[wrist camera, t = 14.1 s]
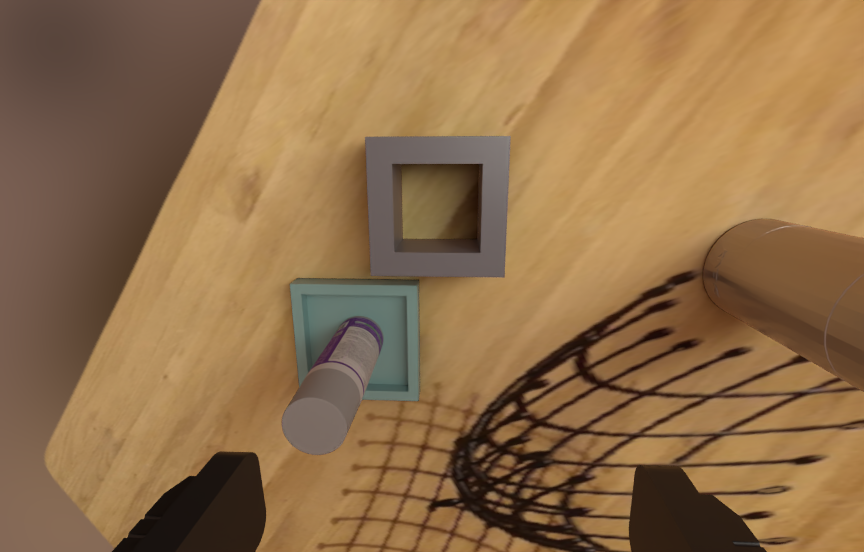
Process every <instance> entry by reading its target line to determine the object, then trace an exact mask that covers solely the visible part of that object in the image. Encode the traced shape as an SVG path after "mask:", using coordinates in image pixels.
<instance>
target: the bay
mask: <svg viewBox="0 0 864 552" xmlns="http://www.w3.org/2000/svg"><path fill="white" fill-rule="evenodd" d="M365 144H366V169H367V193H368V218H369V243H370V267H371V276H429V277H504V276H505V253H506V229H507V206H508V183H509V159H510V136H439V137H365ZM401 164H479V185H478V224H477V239H403V224H402V175H401Z"/></svg>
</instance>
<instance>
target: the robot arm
mask: <svg viewBox="0 0 864 552" xmlns="http://www.w3.org/2000/svg"><path fill="white" fill-rule="evenodd" d="M703 280H704V285H705V289H706V291H707V293H708V296H709V297H710V298H711V300H712V301H713V302H714V303H715V304H716V305H717V306H718V307H720V308H721V309H722V310H724V311H726V312H728V313H729V314H731V315H733V316H734V317H736V318H738V319H739V320H741V321H743V322H745V323H746V324H748V325H749V326H751V327H753V328H755V329H756V330H758V331H760V332H761V333H763V334H765V335H767V336H768V337H770V338H772V339H773V340H775V341H777V342H779V343H780V344H782V345H784V346H785V347H787V348H789V349H791V350H792V351H794V352H796V353H797V354H799V355H801V356H803V357H804V358H806V359H808V360H809V361H811V362H813V363H815V364H816V365H818V366H820V367H822V368H823V369H825V370H827V371H828V372H830V373H832V374H834V375H835V376H837V377H839V378H840V379H842V380H844V381H846V382H847V383H849V384H851V385H852V386H854V387H856V388H858V389H860V390H861V391H863V392H864V238H860V237H856V236H851V235H846V234H841V233H836V232H831V231H827V230H822V229H817V228H812V227H808V226H803V225H798V224H793V223H788V222H783V221H778V220H774V219H757V220H751V221H747V222H745V223H742V224H740V225H737V226H736V227H734V228H732V229H731V230H729V231H727V232H726V233H725V234H724V235H723V236H722V237H721V238H719V239H718V241H717V242H716V243H715V245H714V246H713V247H712V248H711V250H710V252H709V254H708V256H707V258H706V262H705V265H704V273H703ZM265 522H266V507H265V500H264V493H263V487H262V480H261V473H260V466H259V460H258V457H257V455H256V454H255V453H253V452H218V453H216V454H215V455H214V456H213V457H212V458H211V459H210V460H209V462H208V463H207V464H206V465H205V466H204V467H203V469H202V470H201V471H200V472H199V473H198V474H197V476H189V477H187V478H186V479H184V480H183V481H182V482H180V483H179V484H177V485H176V486H174V487H173V488H171V489H170V490H169V491H167V492H166V493H164V494H163V495H162V496H161V498H160V499H159V500H158V501H157V502H156V503H155V504H154V505H153V507H152V508H151V509H150V510H149V511H148V512H147V513H146V514H145V518H144V519H141V520H140V521H139V522H138V523H137V524H136V525H135V527H134V528H133V529H132V530H131V531H130V532H129V535H128V537H127V538H124V539H123V540H122V541H121V542H120V543H119V544H118V545H117V547H116V548H115V549H114V550H113V551H112V552H255V551H256V549H257V547H258V545H259V543H260V541H261V538H262V535H263V532H264V528H265ZM629 539H630V546H631V551H632V552H766V550H765V549H764V548H763V547H760V544H759V541H758V540H757V538H756V537H755V536H754V534H753V533H752V532H751V531H750V529H749V528H748V527H747V525H746V524H745V523H744V521H743V520H742V519H741V517H740V516H739V515H737V514H736V513H735V512H733V511H732V510H731V509H730V508H728V507H727V506H726V505H725V504H723V503H722V502H721V501H719V500H718V499H717V498H716V497H714V496H713V495H700V494H699V492H698V491H697V489H696V488H695V487H694V485H693V484H692V482H691V481H690V479H689V478H688V476H687V475H686V473H685V472H684V471H683V470H682V469H681V468H680V467H679V466H661V465H638V466H637V468H636V471H635V476H634V485H633V494H632V503H631V512H630V521H629Z"/></svg>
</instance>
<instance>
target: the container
mask: <svg viewBox="0 0 864 552" xmlns="http://www.w3.org/2000/svg"><path fill="white" fill-rule="evenodd" d="M383 341H384V336H383V332H382V330H381V328H380V326H379V325H378V324H377V323H376V322H375V321H374V320H372V319H370V318H368V317H364V316H354V317H351V318H348V319H347V320H345V321H344V322H343V323H342V324H341V326H340V327H339V328H338V330H337V331H336V333H335V334H334V336H333V337H332V339H331V340H330V342H329V343H328V345H327V346H326V348H325V349H324V350H323V352H322V353H321V355H320V356H319V358H318V359H317V361H316V362H315V364H314V365H313V367H312V368H311V370H310V371H309V372H308V374H307V376H306V377H305V379H304V381H303V382H302V384H301V386H300V387H299V389H298V390H297V392H296V394H295V395H294V397H293V399H292V400H291V402H290V404H289V405H288V407H287V408H286V410H285V412H284V414H283V417H282V429H283V432H284V435H285V437H286V438H287V440H288V441H289V442H290V443H291V444H292V445H293V446H294V447H295V448H297V449H298V450H300V451H302V452H305V453H308V454H312V455H323V454H327V453H330V452H332V451H334V450H336V449H337V448H338V447H339V446H340V445H341V444H342V443H343V441H344V439H345V437H346V435H347V433H348V430H349V428H350V426H351V423H352V421H353V419H354V417H355V414H356V412H357V410H358V407H359V405H360V403H361V401H362V398H363V396H364V393H365V390H366V388H367V385H368V383H369V380H370V377H371V375H372V372H373V369H374V367H375V364H376V362H377V359H378V356H379V354H380V351H381V349H382V346H383Z"/></svg>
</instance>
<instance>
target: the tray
mask: <svg viewBox="0 0 864 552" xmlns="http://www.w3.org/2000/svg"><path fill="white" fill-rule="evenodd" d="M290 292H291V303H292V314H293V325H294V336H295V347H296V357H297V368H298V379H299V387H300V386H301V384H302V382H303V381H304V379H305V377H306V376H307V374H308V372H309V371H310V370H311V368H312V367H313V365H314V364H315V362H316V361H317V359H318V358H319V356H320V355H321V353H322V352H323V350H324V349H325V348H326V346H327V345H328V343H329V342H330V340H331V339H332V337H333V336H334V334H335V333H336V331H337V330H338V328H339V327H340V326H341V324H342V323H343V322H344V321H345V320H347V319H348V318H351V317H354V316H364V317H368V318H370V319H372V320H374V321H375V322H376V323H377V324H378V325H379V326H380V328H381V330H382V332H383V336H384V341H383V346H382V349H381V351H380V354H379V356H378V359H377V362H376V364H375V367H374V369H373V372H372V375H371V377H370V380H369V383H368V385H367V388H366V390H365V393H364V396H363V398H362V400H398V401H419V395H420V323H419V280H401V279H320V278H297V279H296V280H294V281H293V282H292V283H290Z"/></svg>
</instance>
